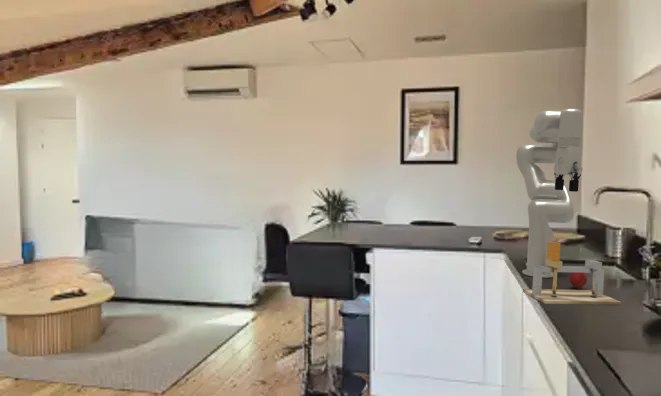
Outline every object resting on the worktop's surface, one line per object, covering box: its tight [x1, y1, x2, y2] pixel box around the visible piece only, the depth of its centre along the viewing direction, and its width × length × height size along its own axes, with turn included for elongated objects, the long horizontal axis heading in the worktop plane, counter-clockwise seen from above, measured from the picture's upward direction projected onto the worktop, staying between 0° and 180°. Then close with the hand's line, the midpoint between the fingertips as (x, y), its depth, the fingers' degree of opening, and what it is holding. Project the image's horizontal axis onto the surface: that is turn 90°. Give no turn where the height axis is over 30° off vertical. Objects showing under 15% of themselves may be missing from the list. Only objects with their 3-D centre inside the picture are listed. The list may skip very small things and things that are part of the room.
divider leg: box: [546, 241, 563, 294], centre depth 178 cm, size 5×3×17 cm, turn 5°
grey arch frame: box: [531, 259, 606, 297], centre depth 178 cm, size 5×24×12 cm, turn 95°
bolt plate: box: [522, 288, 622, 306], centre depth 180 cm, size 16×26×1 cm, turn 95°
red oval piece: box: [569, 272, 588, 290], centre depth 195 cm, size 6×6×8 cm
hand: (566, 190), depth 192 cm, fingers open, 9 cm apart
